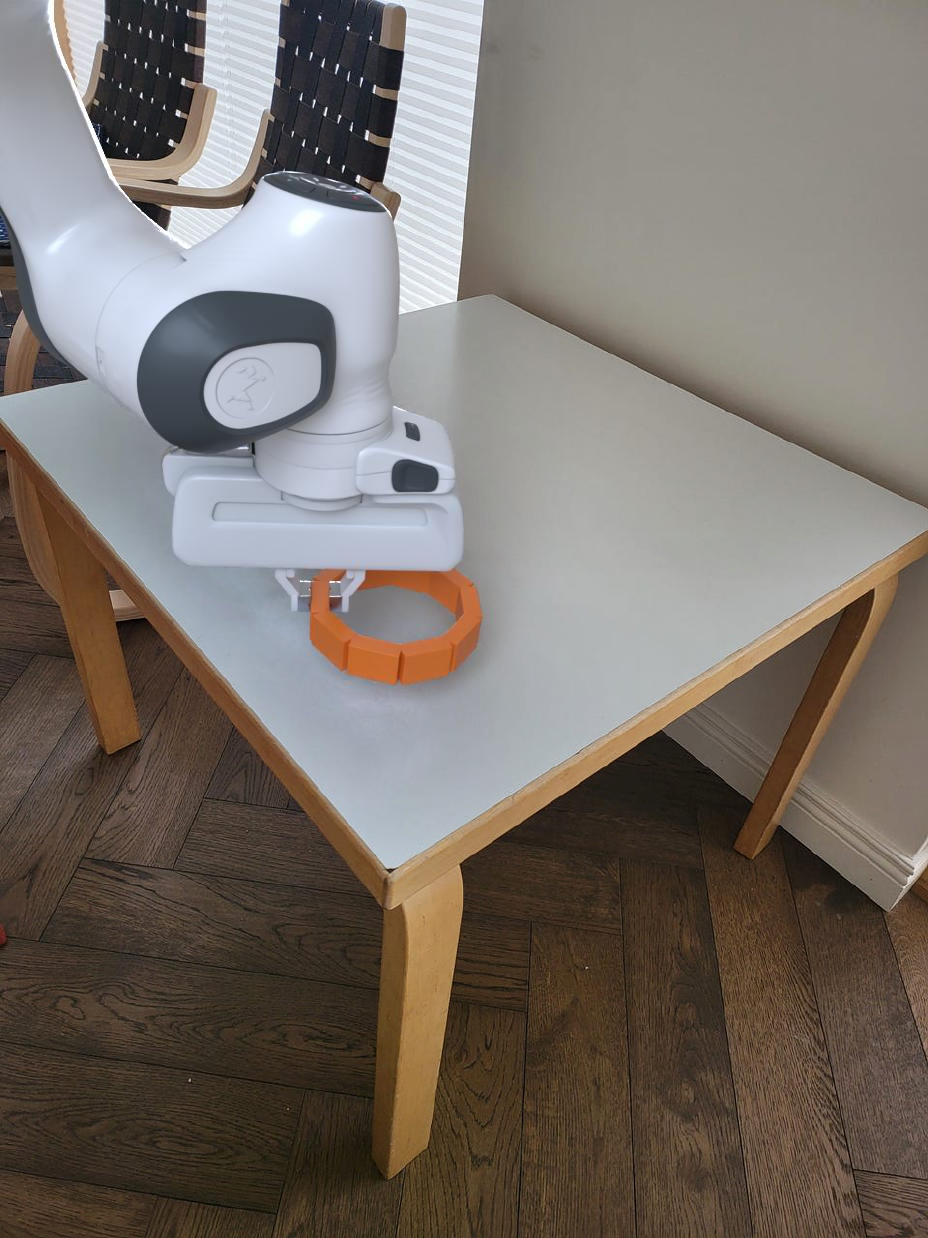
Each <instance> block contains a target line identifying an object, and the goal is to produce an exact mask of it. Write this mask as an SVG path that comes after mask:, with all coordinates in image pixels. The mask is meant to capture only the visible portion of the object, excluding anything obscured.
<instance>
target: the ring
mask: <svg viewBox="0 0 928 1238" xmlns="http://www.w3.org/2000/svg"><path fill="white" fill-rule="evenodd" d="M345 574H346V570H345V569H322V570H321V571H320V572H319V573H317V574H316V575H314V576H313V578H312V581H311V606H310V612H309V640H310V641H311V645H312V646H313V647H314V648H315V649H316V650H317V651H318V652H320V653H321V654H322V655H323V656H324V657H325V658H326V659H327V660H328V661H329V662H331V664H333V666H335V667H336V668H337V669H338V670H339V671H340V672H344V671H346V674H347V675H349V676H354V677H358V678H362V679H366V680H371V681H376V682H379V683H384V684H388V685H393V686H396V685H397V683H398V681H399V684H400V685H401V686H407V685H411V684H412V685H413V684H416V683H421V682H425V681H430V680H434V679H440V678H444V677H448V676H449V673H452V674H453V673H455V671H456V670H457V669H458V668H459V667H460V666H461V665H462V664H463V663H464V662H465V660H467V658H468V657H469V656H470V655H471V654H472V653H473V652H474V651H475V649H476V648H477V645H478V643H479V637H480V633H481V632H480V631H481V626H482V620H483V611H482V608H481V602H480V597H479V593H478V590H477V589H478V588H477V586H474V582H473V581H472V580H470V579H469V578H467V576H465V575H464V574H462V573H461V572H460V571H459V570H457V569H456V568H453V569H452V570H451V571H446V572H443V571H397V570H366V572H365V580H364V581H363V582H362V584H361V585H360V586H359V587H358V588H357V590H356V591H355V592H358V591H363V590H368V589H370V590H371V589H375V588H380V587H381V588H382V587H388V586H391V587H397V588H401V589H406V590H409V591H414V592H418V593H423V594H428V595H430V597H431V598H433V599H434V600H435V601H437V602H438V603H439V604H441V605H442V606H443V607H444V608H446V609H447V610H448V611H450V613H452V614H453V615H454V617H455V623H454V624H453V625H452V626H450V628H449V629H448V630H447V631H446V632H445V633H444V634H443V635H441V636H435V637H431V638H425V639H420V640H414V641H411V642H410V641H409V642H405V643H396V642H393V641H388V640H384V639H380V638H376V637H371V636H366V635H362V634H359V633H358V634H357V632H355V631H354V630H353V629H352V628H350V627H349V626H348V625H347V624H346V623H345V622H344V621H342V619H340V618H339V617H338V616H337V615H336V614H335V613H334V612H331V611H330V603H329V582H340V580H341V579H342V578H343V576H344V575H345Z"/></svg>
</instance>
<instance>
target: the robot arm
mask: <svg viewBox="0 0 928 1238" xmlns="http://www.w3.org/2000/svg"><path fill="white" fill-rule="evenodd" d="M54 1H55V0H0V218H1V220H2V222H3V225H4V227H5V230H6V234H7V236H8V240H9V244H10V248H11V253H12V260H13V266H14V270H15V271H14V274H15V281H16V287H17V292H18V293H17V294H18V297H19V301H20V306H21V309H22V312H23V315H24V318H25V321H26V322H27V325H28V326H29V328H30V330H31V332H32V334H33V336H34V337H35V338H36V340H37V341H38V343H39V344H40V345H41V346H42V347H43V349H45V351H47V353H49V354H50V355H51V356H52V357H53V358H55V359H56V360H57V361H59V362H61V363H62V364H63V365H66V366H67V367H68V368H70V369H71V370H73V371H74V372H76V373H78V374H79V375H81V376H83V377H84V378H86V379H87V380H89V381H90V382H92V384H93V385H95V386H96V387H97V388H99V389H100V390H101V391H102V392H103V393H104V394H105V395H107V396H108V397H110V398H111V399H112V400H113V401H114V402H115V403H116V404H118V405H119V406H120V407H122V408H123V409H124V410H126V411H127V412H128V413H130V414H131V415H132V416H133V417H135V418H136V419H137V420H139V421H140V422H141V423H142V424H143V425H144V426H146V428H148V429H150V430H151V431H152V432H153V433H155V434H156V435H157V436H159V437H161V438H162V439H163V440H165V441H166V442H167V443H169V444H171V445H170V446H169V447H168V448H167V449H166V450H165V451H164V452H163V455H161V456H162V457H161V460H160V465H161V466H160V467H161V474H162V475H161V476H162V482H163V485H164V487H165V488H166V490H167V492H169V494H170V495H171V496H173V497H174V500H173V507H172V508H173V509H172V518H171V519H172V520H171V550H172V553H173V555H174V557H176V558H177V560H178V561H179V562H181V563H182V564H183V566H185V567H192V568H195V567H196V568H242V569H243V568H244V569H245V568H246V569H274V579H275V580H276V581H277V582H278V583H279V585H280V586H281V587H282V589H284V591H285V592H286V593H287V594H288V596H290V612H291V613H310V606H311V581H310V580H301V579H300V578H299V577H298V575H297V573H296V570H297V569H301V570H324V569H345V570H346V574H345V575H344V576H343V578H342V579H341V580H340V582H329V603H330V611H331V612H332V613H349V610H350V597H352V596H353V594H354V593H355V592H357V591H356V590H357V588H358V587H359V586H360V585H361V584H362V582H363V581H364V580H365V572H366V570H397V571H443V572H446V571H451V570H452V569H453V568H454V569H456V567H457V566H458V565H459V564H460V563H461V562H462V561H463V558H464V550H465V519H464V510H463V504H462V499H461V494H460V490H459V486H458V481H457V478H456V475H457V460H456V455H455V449H454V446H453V443H452V439H451V437H450V435H449V432H448V431H447V429H446V427H445V426H444V425H443V424H442V423H440V422H439V421H437V420H433V419H431V418H428V417H425V416H422V415H420V414H416V413H413V412H411V411H408V410H406V409H402V408H399V407H397V406H394V401H393V393H392V390H391V385H390V378H389V377H390V375H389V373H390V366H391V362H392V359H393V357H394V354H395V351H396V349H397V344H398V334H399V321H400V302H401V300H400V298H401V272H400V271H401V270H400V269H401V268H400V254H399V253H400V252H399V243H398V236H397V231H396V227H395V223H394V220H393V217H392V215H391V212H390V210H388V208H387V207H385V205H384V204H383V203H382V201H380V200H379V199H378V198H376V197H375V196H373V195H371V194H369V193H367V192H365V191H364V190H361V189H359V188H357V187H354V186H352V185H350V184H347V183H345V182H342V181H336V180H333V179H329V178H327V177H324V176H320V175H316V174H312V173H311V174H310V173H305V172H298V171H277V172H274V173H269V174H265V175H263V176H261V178H260V179H259V181H258V183H257V186H256V187H255V191H254V193H253V195H252V196H251V198H250V199H249V201H248V202H247V203H246V204H245V205H244V206H243V207H242V208H241V209H240V210H239V211H238V212H237V214H235V216H233V217H232V218H231V219H230V220H229V221H228V222H226V224H224V225H223V226H222V227H220V228H219V229H218V230H216V231H215V232H214V233H212V234H211V235H209V236H208V237H206V238H204V239H203V240H201V241H200V242H198V243H196V244H194V245H192V246H190V245H188V244H187V243H185V242H184V241H182V240H180V239H179V238H177V237H174V236H173V235H172V234H170V233H169V232H168V231H166V230H165V229H163V228H162V227H161V226H160V225H158V224H157V223H156V222H155V221H154V220H152V219H151V218H150V217H149V216H147V215H146V214H145V213H144V212H143V211H142V210H141V209H140V208H139V207H138V206H136V204H135V203H133V201H132V200H131V199H130V198H129V197H128V196H127V194H126V193H125V192H124V191H123V189H122V188H121V187H120V186H119V183H118V182H117V181H116V179H115V176H114V175H113V173H112V170H111V168H110V166H109V163H108V161H107V158H106V156H105V154H104V151H103V149H102V146H101V144H100V142H99V139H98V137H97V135H96V132H95V129H94V128H93V125H92V123H91V120H90V118H89V116H88V113H87V111H86V108H85V105H84V103H83V101H82V99H81V96H80V94H79V91H78V90H77V87H76V84H75V82H74V79H73V78H72V75H71V72H70V70H69V68H68V65H67V63H66V61H65V58H64V56H63V53H62V50H61V48H60V44H59V40H58V37H57V32H56V26H55V22H54V21H55V20H54V19H55V18H54V3H55V2H54Z"/></svg>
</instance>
